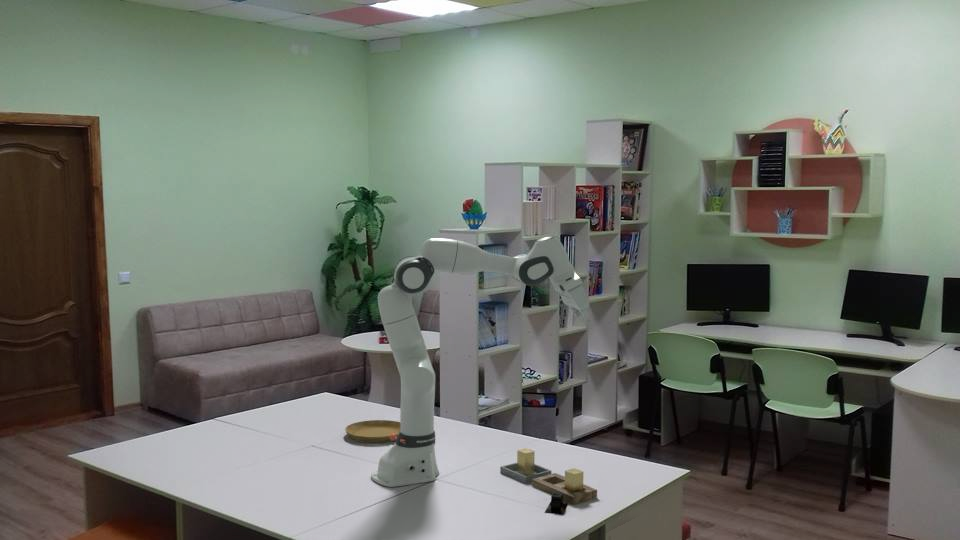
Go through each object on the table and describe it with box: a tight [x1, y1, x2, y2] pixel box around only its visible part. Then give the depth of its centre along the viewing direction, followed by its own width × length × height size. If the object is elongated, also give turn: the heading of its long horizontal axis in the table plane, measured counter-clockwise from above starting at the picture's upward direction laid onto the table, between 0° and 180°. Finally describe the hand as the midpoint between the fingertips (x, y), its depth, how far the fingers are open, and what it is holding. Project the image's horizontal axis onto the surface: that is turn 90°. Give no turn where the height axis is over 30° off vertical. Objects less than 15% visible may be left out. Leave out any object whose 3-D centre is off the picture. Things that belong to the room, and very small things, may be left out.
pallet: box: [531, 472, 598, 506], centre depth 259 cm, size 10×19×2 cm, turn 37°
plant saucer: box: [344, 419, 400, 444], centre depth 319 cm, size 24×24×3 cm
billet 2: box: [564, 468, 584, 493], centre depth 255 cm, size 4×4×8 cm
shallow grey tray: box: [499, 462, 552, 485], centre depth 274 cm, size 11×13×2 cm
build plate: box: [544, 492, 569, 516], centre depth 246 cm, size 12×7×5 cm, turn 165°
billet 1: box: [516, 447, 536, 476], centre depth 273 cm, size 4×4×8 cm
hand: (582, 317), depth 278 cm, fingers open, 8 cm apart
